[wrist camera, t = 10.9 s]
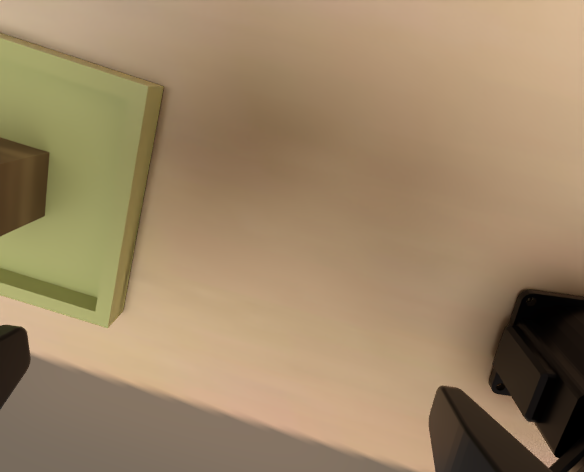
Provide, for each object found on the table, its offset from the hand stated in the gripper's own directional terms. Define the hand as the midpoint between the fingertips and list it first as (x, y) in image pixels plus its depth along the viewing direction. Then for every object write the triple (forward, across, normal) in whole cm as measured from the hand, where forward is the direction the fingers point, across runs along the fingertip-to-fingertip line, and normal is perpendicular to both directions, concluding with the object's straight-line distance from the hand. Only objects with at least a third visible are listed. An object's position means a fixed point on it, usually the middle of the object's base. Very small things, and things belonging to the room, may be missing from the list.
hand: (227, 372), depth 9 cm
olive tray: (+13, +14, 0) cm, 19 cm away
